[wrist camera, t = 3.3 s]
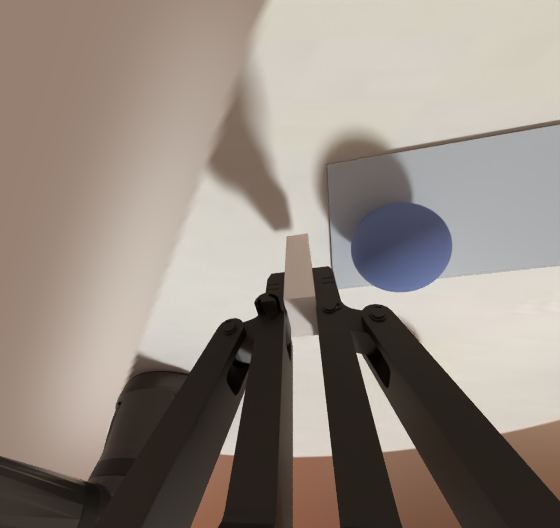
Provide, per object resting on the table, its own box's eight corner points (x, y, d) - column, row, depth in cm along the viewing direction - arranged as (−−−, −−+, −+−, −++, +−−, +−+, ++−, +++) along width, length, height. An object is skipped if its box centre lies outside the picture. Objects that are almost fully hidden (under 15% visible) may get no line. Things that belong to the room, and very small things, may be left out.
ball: (343, 265, 20) (362, 315, 15) (342, 198, 16) (365, 233, 11) (415, 256, 19) (461, 306, 14) (429, 184, 16) (494, 216, 11)
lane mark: (333, 288, 21) (333, 289, 21) (327, 164, 15) (327, 165, 15) (705, 248, 18) (709, 249, 17) (883, 68, 12) (892, 67, 12)
